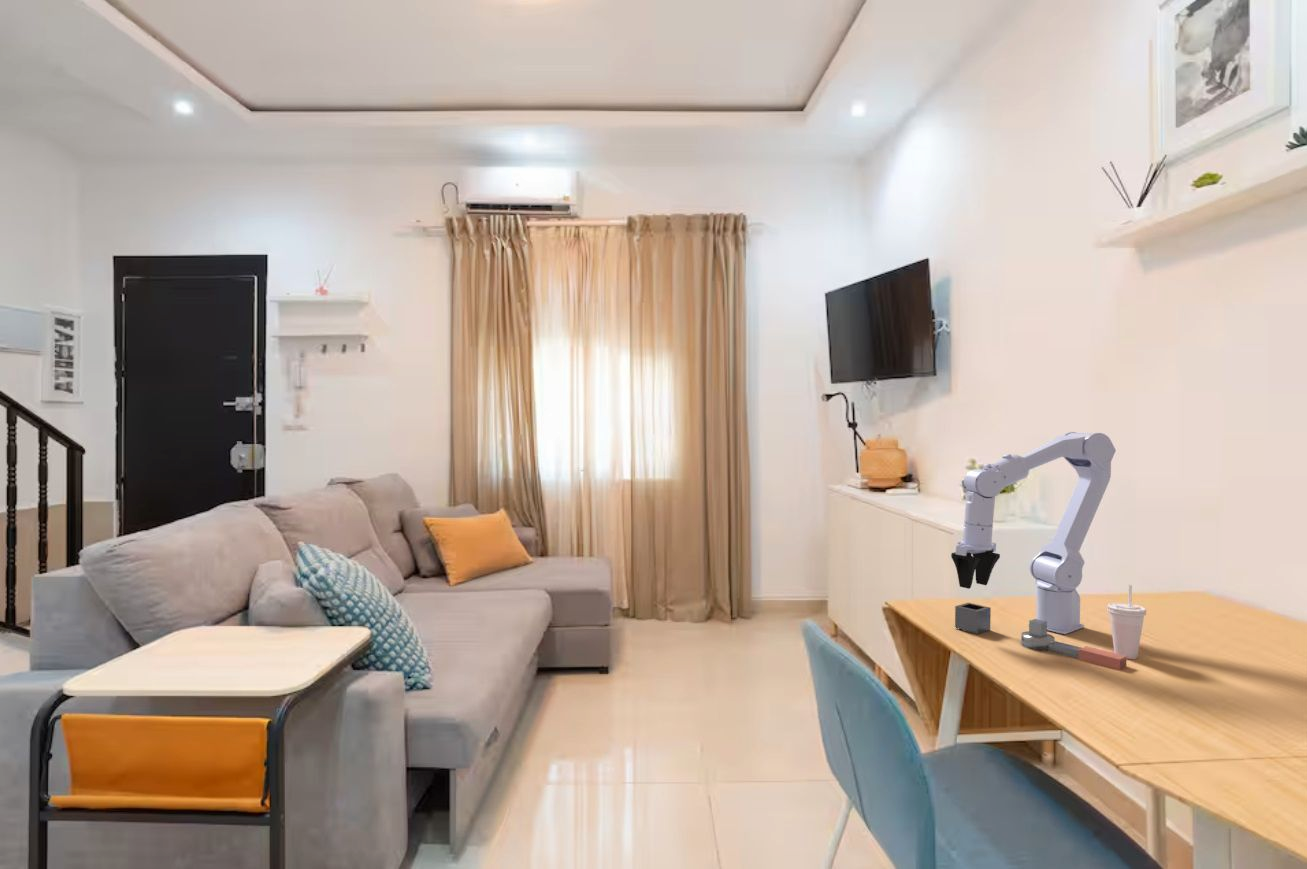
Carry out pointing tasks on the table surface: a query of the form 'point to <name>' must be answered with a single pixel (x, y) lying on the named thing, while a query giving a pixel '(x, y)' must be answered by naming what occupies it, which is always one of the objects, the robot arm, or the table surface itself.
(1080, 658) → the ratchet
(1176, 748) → the table surface
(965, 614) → the hollow square tube
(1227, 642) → the table surface
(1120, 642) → the smoothie
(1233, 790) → the table surface
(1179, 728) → the table surface
